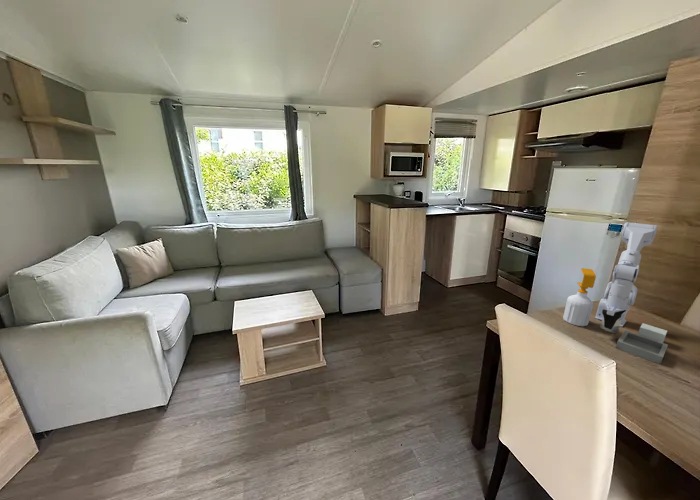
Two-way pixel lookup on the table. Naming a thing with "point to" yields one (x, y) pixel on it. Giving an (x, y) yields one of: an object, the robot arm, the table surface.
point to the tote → (642, 346)
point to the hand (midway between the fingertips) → (609, 325)
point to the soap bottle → (580, 301)
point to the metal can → (615, 327)
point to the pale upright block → (652, 332)
